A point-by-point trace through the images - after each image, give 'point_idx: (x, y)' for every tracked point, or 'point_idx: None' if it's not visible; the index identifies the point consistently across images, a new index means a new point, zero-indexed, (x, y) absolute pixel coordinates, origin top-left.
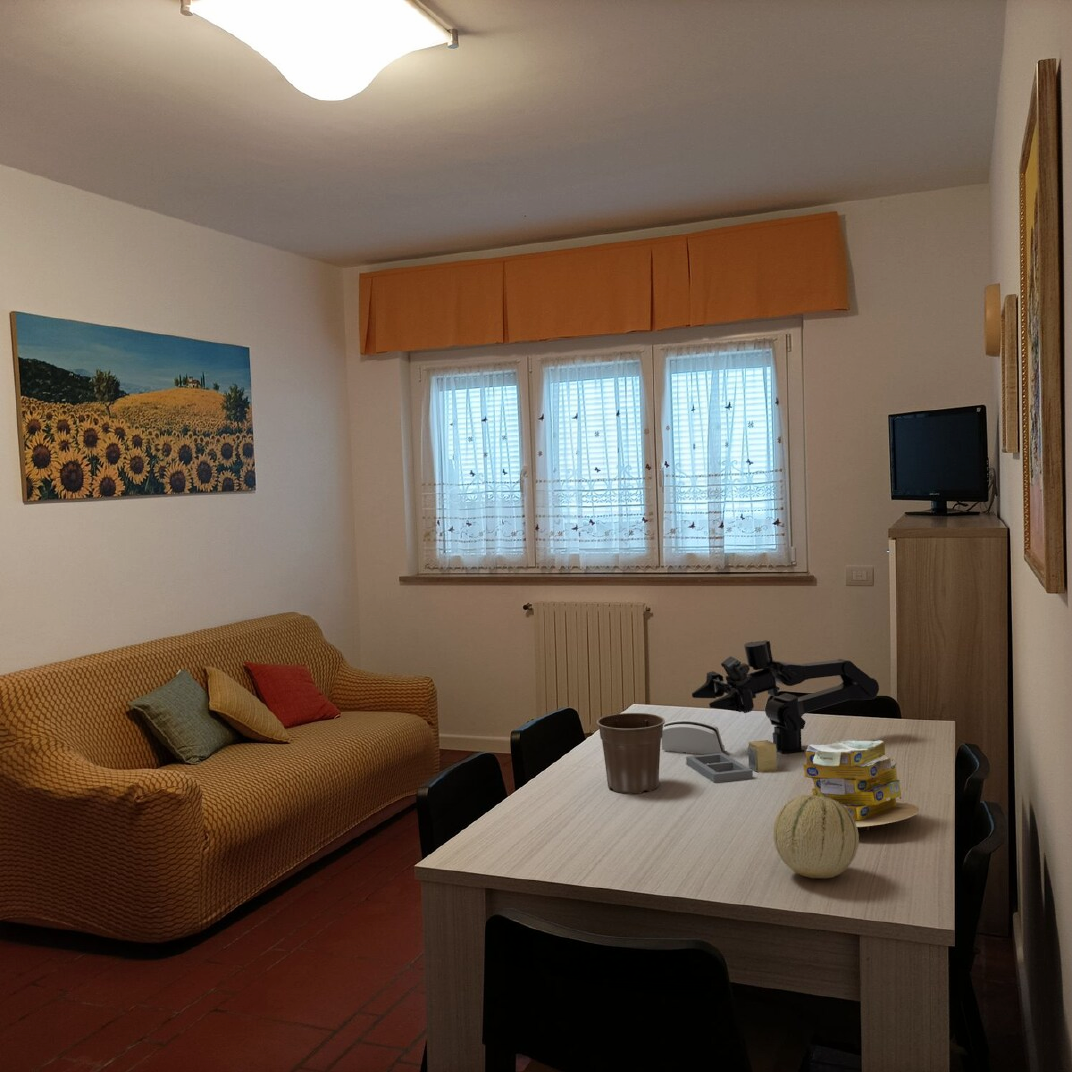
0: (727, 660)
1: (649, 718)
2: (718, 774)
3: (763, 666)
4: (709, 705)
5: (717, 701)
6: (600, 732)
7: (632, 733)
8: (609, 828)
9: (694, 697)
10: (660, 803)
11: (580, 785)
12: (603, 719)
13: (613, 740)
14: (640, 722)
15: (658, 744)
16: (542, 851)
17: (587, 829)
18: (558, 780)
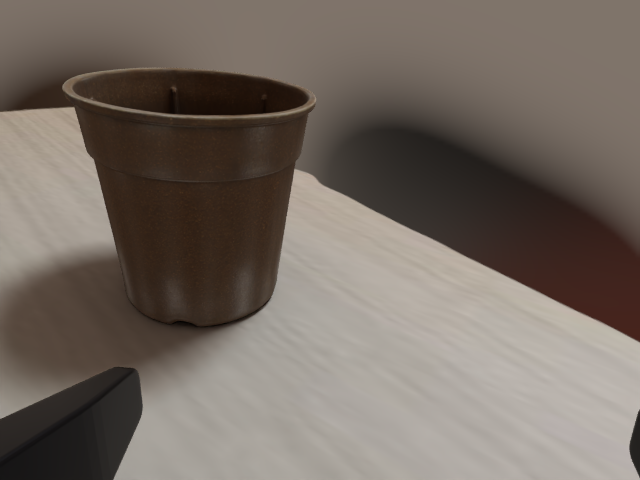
0: None
1: (220, 132)
2: None
3: None
4: (134, 386)
5: (9, 421)
6: (240, 101)
7: (118, 86)
8: (42, 174)
9: (637, 472)
10: (35, 258)
11: (301, 236)
12: (294, 92)
13: (177, 107)
14: (258, 148)
15: (98, 172)
16: (71, 130)
17: (75, 164)
18: (364, 231)
